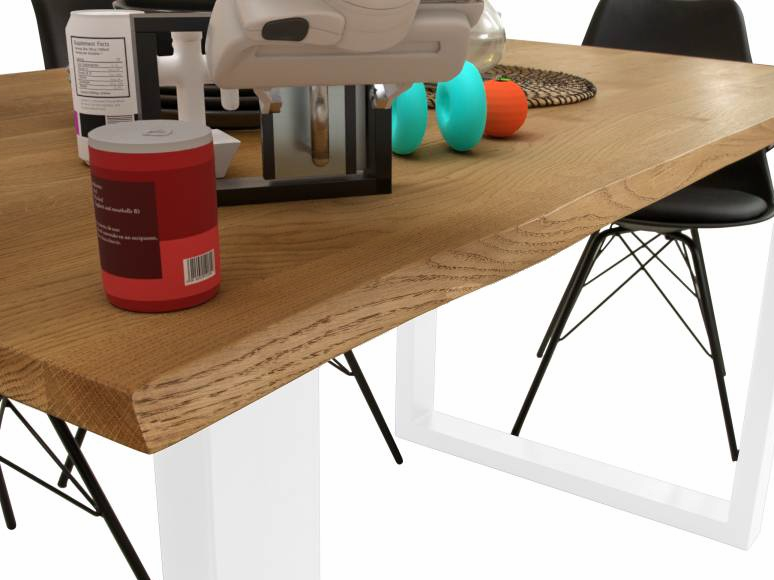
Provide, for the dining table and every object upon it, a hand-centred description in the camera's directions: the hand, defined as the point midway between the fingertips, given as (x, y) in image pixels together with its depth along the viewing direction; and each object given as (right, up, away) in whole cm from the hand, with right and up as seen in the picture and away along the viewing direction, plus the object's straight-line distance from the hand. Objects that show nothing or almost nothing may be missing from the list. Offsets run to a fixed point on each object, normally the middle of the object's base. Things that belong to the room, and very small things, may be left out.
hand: (325, 104), depth 84 cm
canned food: (-9, -16, -16) cm, 24 cm away
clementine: (+16, +3, +39) cm, 42 cm away
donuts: (+8, 0, +29) cm, 30 cm away
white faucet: (-15, -4, +16) cm, 22 cm away
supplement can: (-24, -2, +21) cm, 32 cm away
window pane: (-2, -6, +7) cm, 9 cm away
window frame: (-6, -7, +9) cm, 12 cm away
